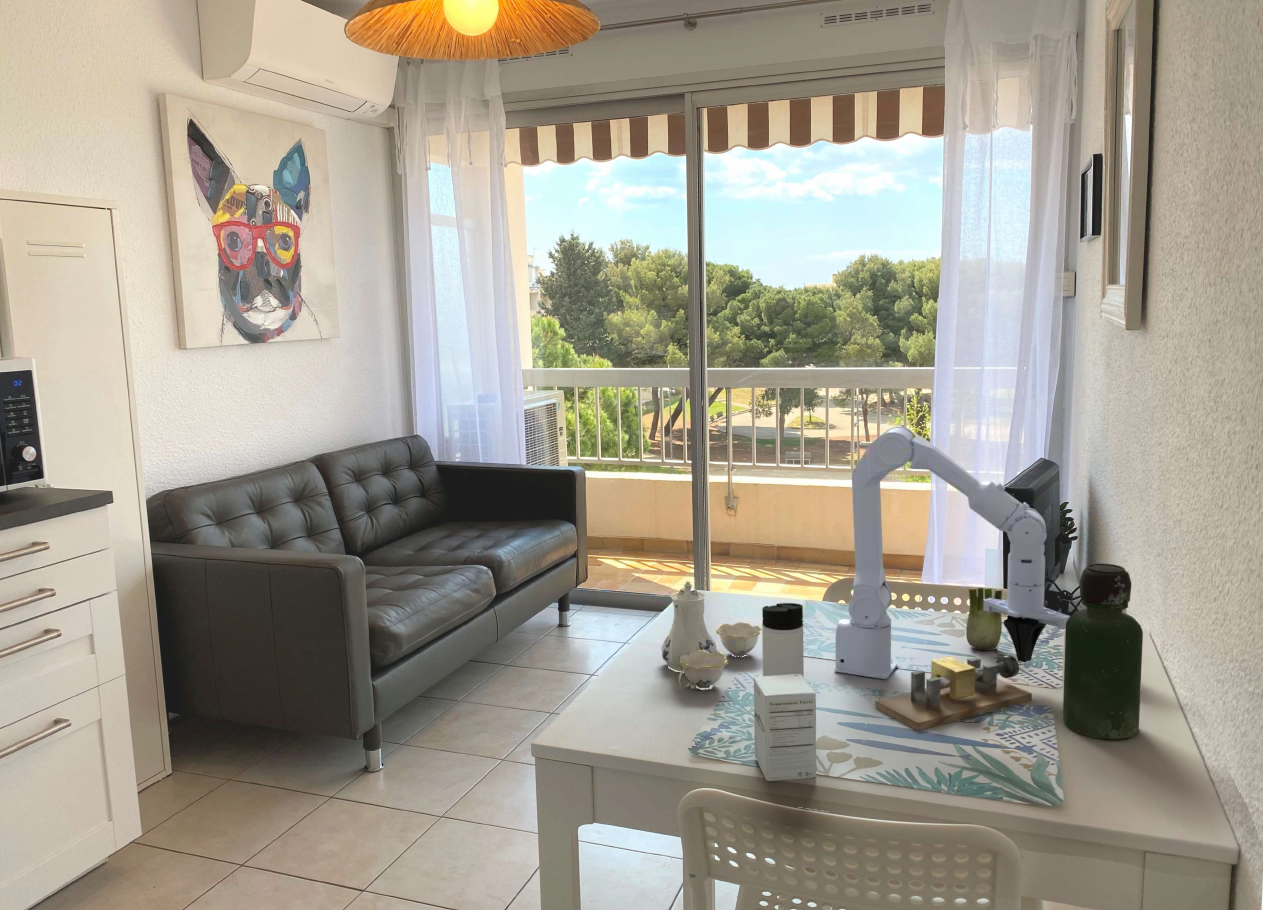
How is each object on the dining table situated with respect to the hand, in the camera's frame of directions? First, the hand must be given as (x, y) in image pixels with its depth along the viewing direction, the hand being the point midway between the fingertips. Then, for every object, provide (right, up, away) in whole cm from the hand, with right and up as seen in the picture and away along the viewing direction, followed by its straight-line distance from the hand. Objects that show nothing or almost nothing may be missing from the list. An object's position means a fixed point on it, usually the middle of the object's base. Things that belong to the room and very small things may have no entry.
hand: (1024, 660), depth 162 cm
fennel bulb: (0, -2, +20) cm, 20 cm away
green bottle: (+5, -7, -16) cm, 18 cm away
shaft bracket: (-14, -6, -6) cm, 16 cm away
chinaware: (-53, -5, +14) cm, 55 cm away
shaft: (-10, -3, -4) cm, 11 cm away
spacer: (-14, -4, -6) cm, 16 cm away
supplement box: (-45, -10, -26) cm, 53 cm away
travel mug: (-43, -8, -13) cm, 45 cm away
